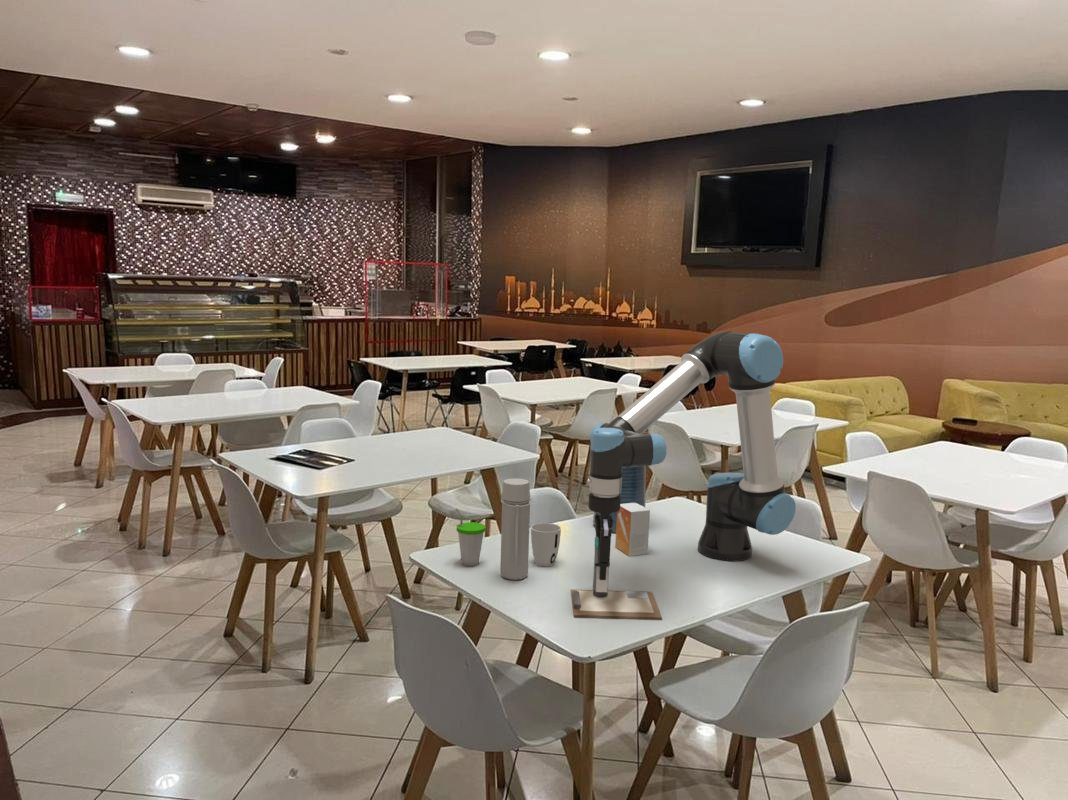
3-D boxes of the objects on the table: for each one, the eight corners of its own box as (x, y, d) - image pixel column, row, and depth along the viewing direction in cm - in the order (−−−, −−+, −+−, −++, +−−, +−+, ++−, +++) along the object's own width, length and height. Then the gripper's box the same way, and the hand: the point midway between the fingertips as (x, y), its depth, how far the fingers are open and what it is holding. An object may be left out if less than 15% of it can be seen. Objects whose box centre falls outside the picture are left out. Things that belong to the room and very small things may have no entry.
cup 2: (556, 569, 205) (558, 533, 203) (526, 566, 206) (528, 530, 205) (561, 559, 213) (563, 524, 211) (533, 556, 214) (534, 521, 213)
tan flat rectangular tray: (651, 593, 190) (652, 587, 190) (661, 619, 176) (662, 613, 175) (570, 591, 190) (570, 585, 190) (573, 617, 175) (574, 610, 175)
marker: (607, 591, 189) (609, 536, 187) (608, 597, 185) (611, 541, 183) (591, 591, 189) (594, 535, 187) (593, 597, 185) (595, 540, 183)
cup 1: (490, 564, 208) (492, 509, 205) (469, 571, 202) (470, 515, 200) (471, 556, 213) (472, 503, 211) (449, 563, 207) (450, 508, 205)
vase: (586, 519, 250) (590, 423, 246) (633, 517, 254) (638, 422, 250) (602, 535, 235) (607, 433, 230) (652, 533, 238) (658, 432, 234)
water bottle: (498, 570, 203) (500, 477, 199) (528, 570, 203) (530, 478, 200) (499, 584, 194) (502, 487, 190) (531, 584, 194) (534, 487, 191)
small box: (614, 547, 224) (616, 503, 222) (633, 545, 226) (636, 502, 225) (628, 556, 217) (631, 511, 215) (648, 554, 219) (650, 509, 217)
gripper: (586, 484, 191) (582, 575, 195) (591, 502, 175) (587, 601, 178) (616, 485, 191) (612, 575, 195) (624, 503, 175) (620, 602, 178)
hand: (600, 587), depth 186 cm, fingers closed on marker, 3 cm apart
